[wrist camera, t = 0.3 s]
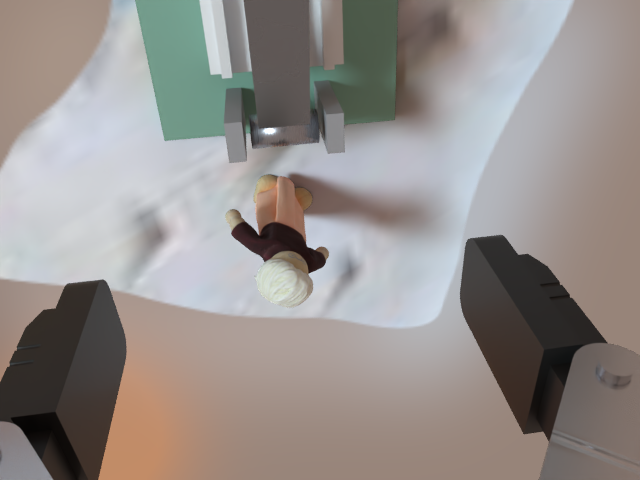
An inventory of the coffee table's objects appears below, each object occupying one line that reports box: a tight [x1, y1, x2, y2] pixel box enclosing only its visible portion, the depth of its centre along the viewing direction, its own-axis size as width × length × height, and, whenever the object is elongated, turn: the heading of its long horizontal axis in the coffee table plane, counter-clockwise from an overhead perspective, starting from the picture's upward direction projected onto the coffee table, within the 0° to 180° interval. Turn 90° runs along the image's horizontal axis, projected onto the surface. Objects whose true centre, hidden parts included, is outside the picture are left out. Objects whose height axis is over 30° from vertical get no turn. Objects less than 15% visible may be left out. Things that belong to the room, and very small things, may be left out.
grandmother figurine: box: [225, 175, 329, 308], centre depth 37 cm, size 8×4×13 cm, turn 71°
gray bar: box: [244, 0, 319, 149], centre depth 28 cm, size 16×4×2 cm, turn 2°
